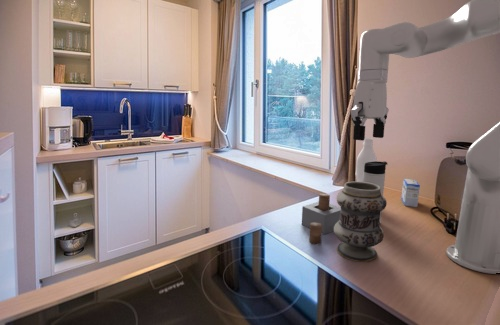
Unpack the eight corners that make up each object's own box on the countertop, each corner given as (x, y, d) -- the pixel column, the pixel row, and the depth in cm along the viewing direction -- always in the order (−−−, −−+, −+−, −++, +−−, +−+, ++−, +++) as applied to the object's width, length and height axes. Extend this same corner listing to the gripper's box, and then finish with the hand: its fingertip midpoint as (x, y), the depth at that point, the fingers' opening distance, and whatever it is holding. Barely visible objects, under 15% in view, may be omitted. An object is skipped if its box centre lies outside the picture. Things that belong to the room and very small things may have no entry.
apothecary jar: (369, 241, 84) (375, 178, 80) (390, 264, 72) (399, 192, 68) (326, 241, 83) (330, 179, 80) (341, 265, 72) (347, 192, 68)
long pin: (322, 222, 96) (323, 193, 94) (330, 226, 93) (332, 195, 91) (315, 225, 94) (316, 194, 92) (323, 228, 92) (325, 197, 90)
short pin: (323, 242, 83) (324, 225, 82) (315, 245, 81) (316, 228, 80) (314, 238, 85) (315, 221, 84) (306, 241, 84) (307, 224, 83)
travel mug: (383, 226, 93) (389, 164, 89) (360, 225, 94) (366, 163, 90) (378, 219, 99) (384, 160, 95) (358, 217, 100) (363, 159, 96)
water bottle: (352, 205, 113) (357, 138, 107) (353, 199, 119) (358, 136, 114) (372, 207, 110) (379, 140, 105) (373, 201, 116) (379, 137, 111)
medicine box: (400, 199, 120) (403, 178, 118) (413, 200, 118) (415, 179, 116) (404, 205, 112) (406, 183, 110) (417, 207, 111) (420, 184, 109)
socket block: (343, 227, 93) (344, 208, 92) (324, 234, 88) (325, 215, 86) (320, 218, 100) (321, 200, 99) (301, 224, 95) (302, 206, 93)
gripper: (377, 79, 92) (373, 135, 95) (342, 77, 81) (339, 139, 85) (401, 77, 86) (396, 137, 89) (367, 74, 75) (363, 142, 79)
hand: (368, 138), depth 87 cm, fingers open, 9 cm apart
